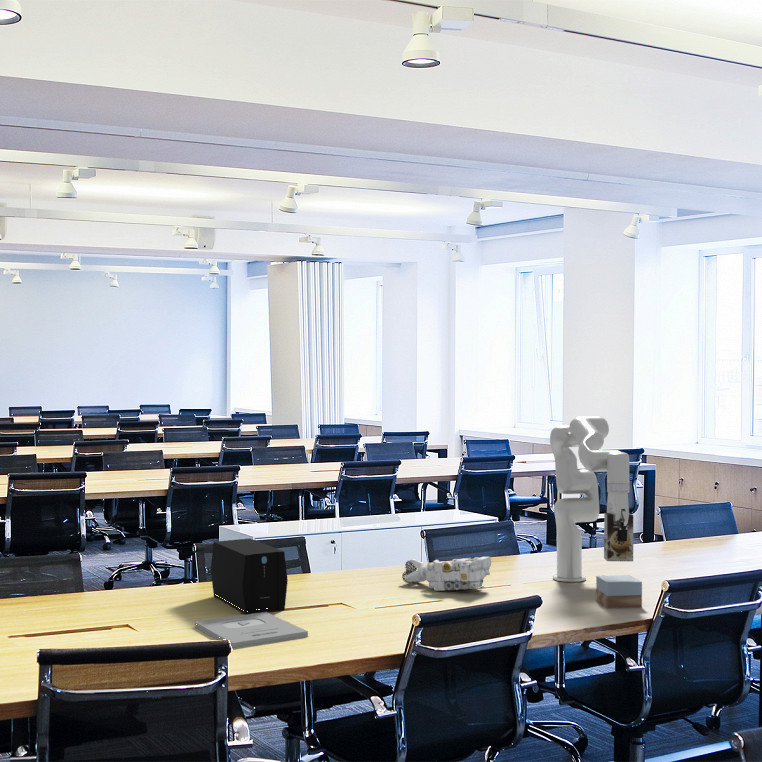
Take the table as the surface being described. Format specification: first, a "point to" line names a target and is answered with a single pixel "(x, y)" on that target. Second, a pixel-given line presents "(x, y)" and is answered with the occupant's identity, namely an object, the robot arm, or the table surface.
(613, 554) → the coffee box
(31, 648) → the table surface
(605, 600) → the block lower
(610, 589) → the block upper
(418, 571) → the spaceship
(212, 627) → the award plaque
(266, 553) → the uninterruptible power supply
